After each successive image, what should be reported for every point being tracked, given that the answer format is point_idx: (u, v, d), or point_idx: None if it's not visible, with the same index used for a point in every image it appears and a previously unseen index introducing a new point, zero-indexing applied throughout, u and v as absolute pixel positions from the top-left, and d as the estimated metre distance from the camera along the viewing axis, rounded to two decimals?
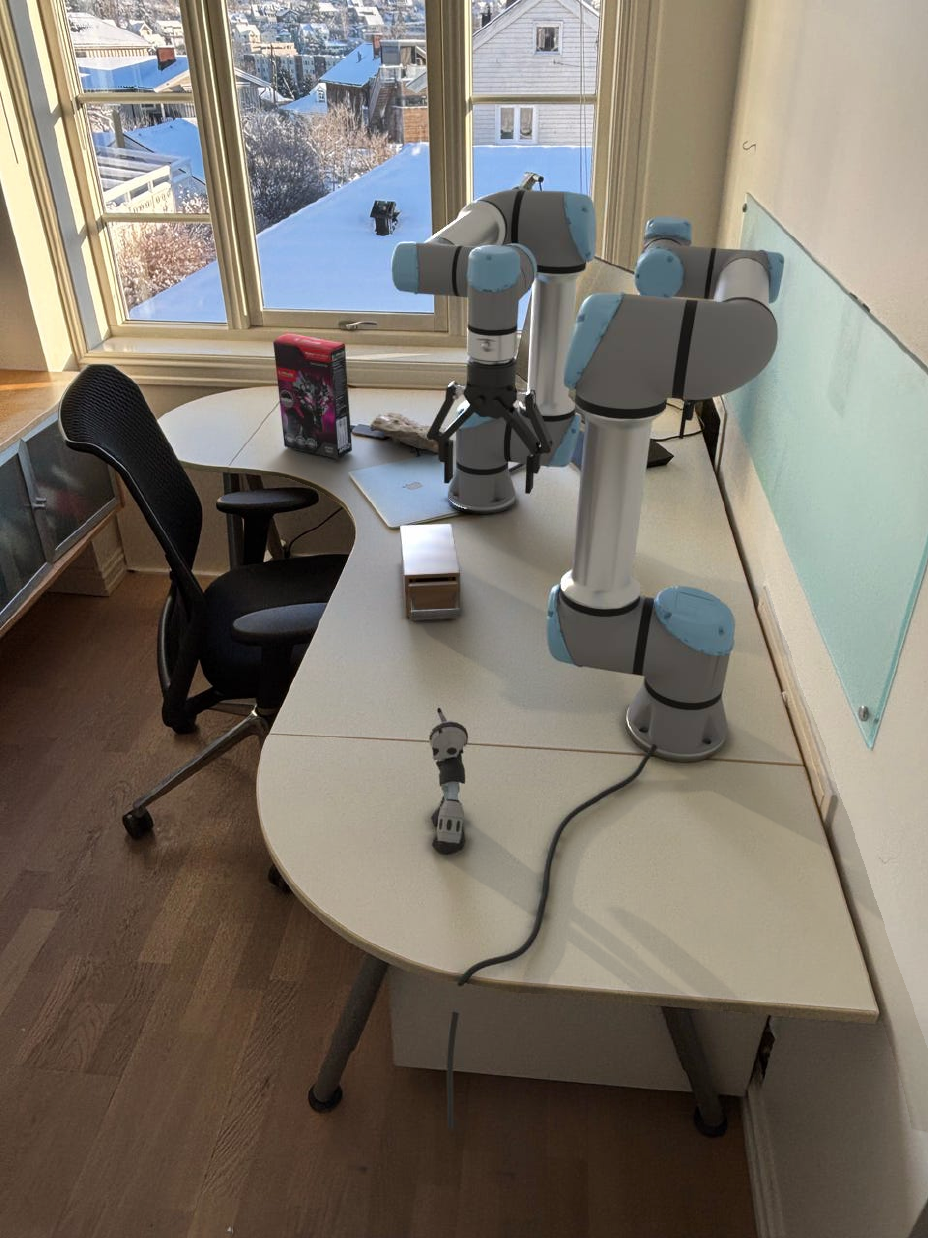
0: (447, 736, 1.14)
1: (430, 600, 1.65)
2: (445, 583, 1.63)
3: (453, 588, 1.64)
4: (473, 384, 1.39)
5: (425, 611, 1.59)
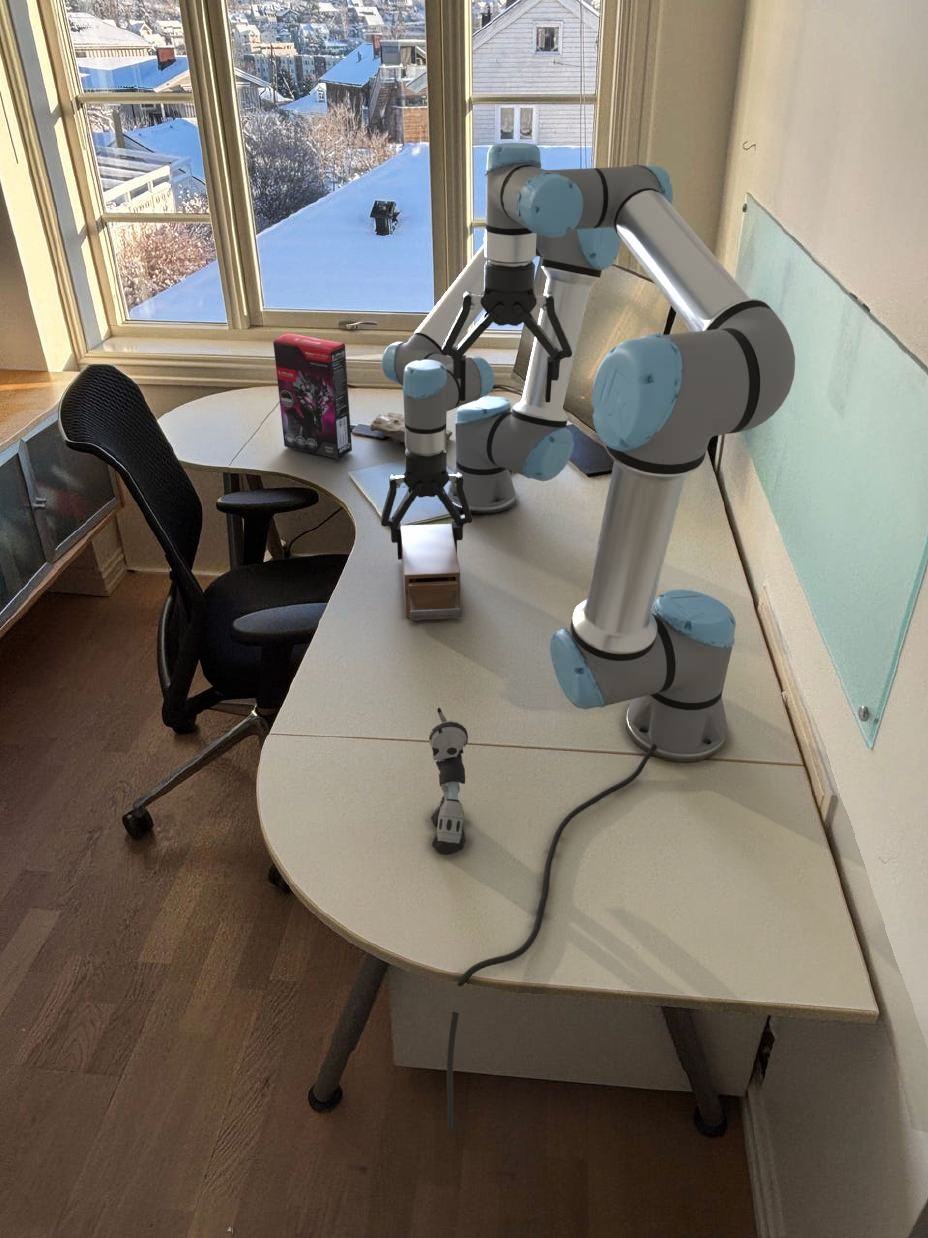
0: (447, 736, 1.14)
1: (430, 600, 1.65)
2: (445, 584, 1.63)
3: (453, 588, 1.64)
4: None
5: (425, 611, 1.59)
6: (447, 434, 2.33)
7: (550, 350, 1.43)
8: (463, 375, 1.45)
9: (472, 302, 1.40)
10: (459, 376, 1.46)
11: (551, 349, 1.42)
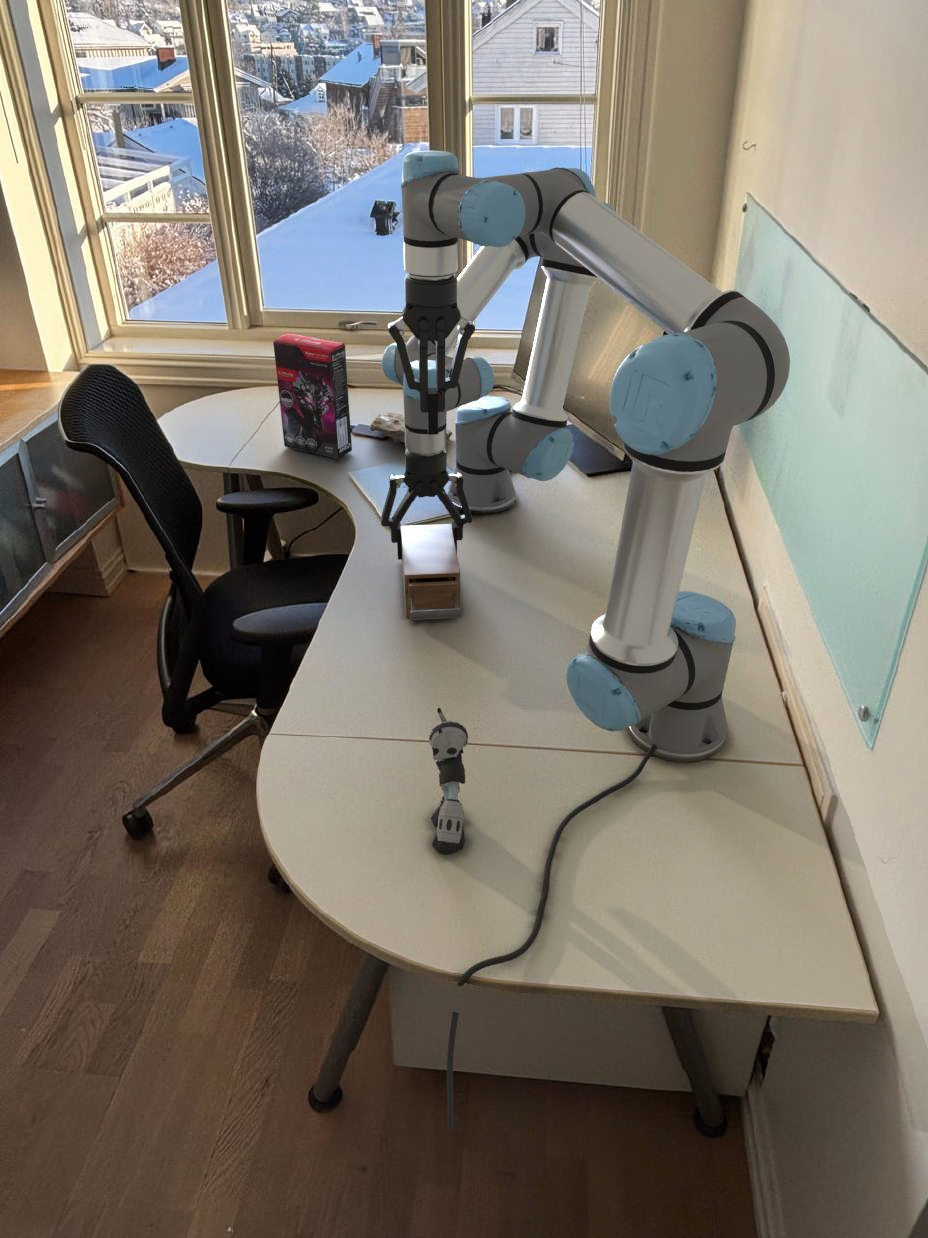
0: (447, 736, 1.14)
1: (430, 600, 1.64)
2: (445, 584, 1.63)
3: (453, 588, 1.64)
4: None
5: (425, 611, 1.59)
6: (447, 434, 2.33)
7: (440, 379, 1.38)
8: (431, 408, 1.40)
9: (399, 328, 1.34)
10: (426, 410, 1.41)
11: (442, 379, 1.38)
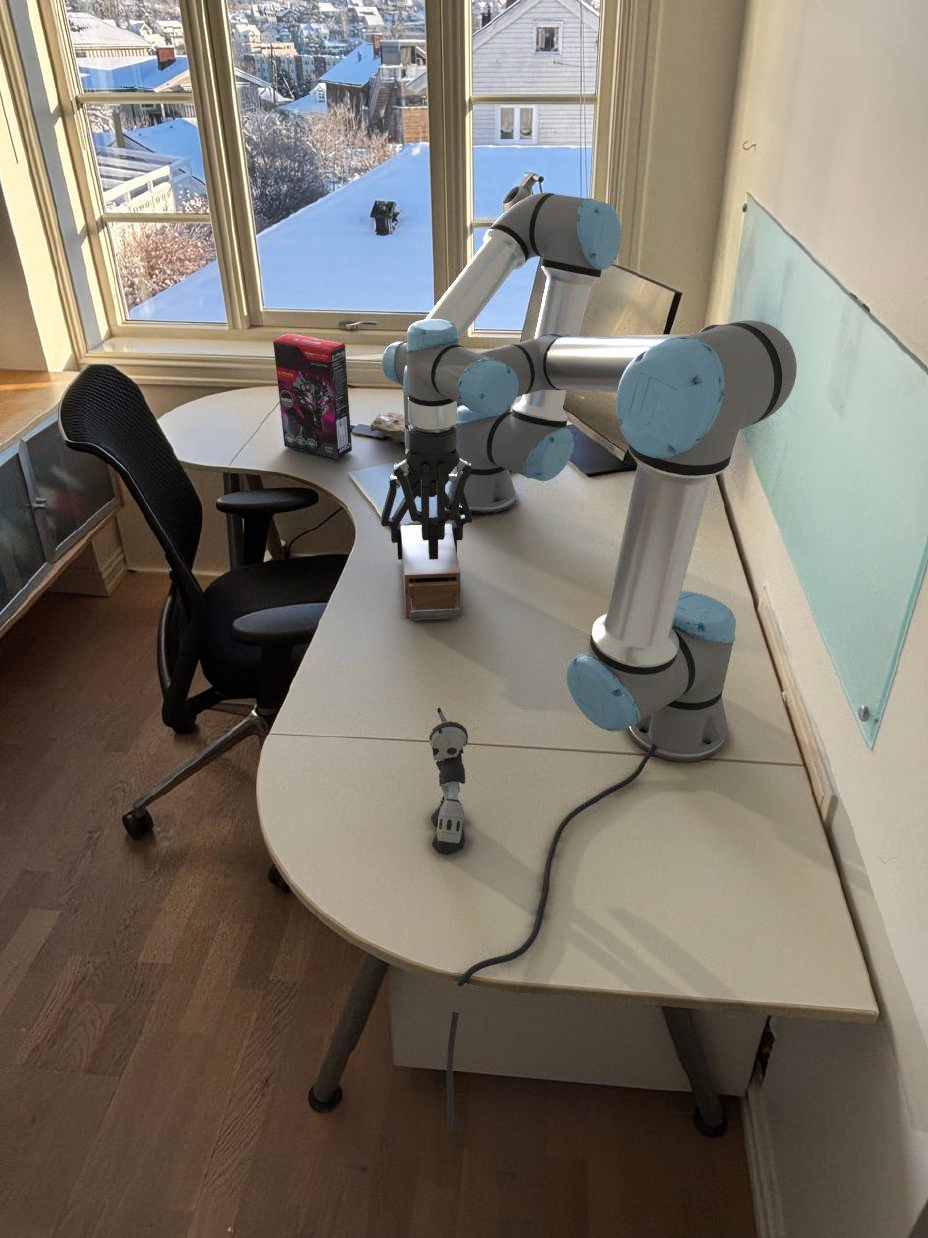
0: (447, 736, 1.14)
1: (430, 600, 1.64)
2: (445, 584, 1.63)
3: (453, 588, 1.64)
4: None
5: (425, 611, 1.59)
6: None
7: (441, 512, 1.50)
8: (432, 537, 1.53)
9: (403, 470, 1.46)
10: (427, 538, 1.53)
11: (442, 512, 1.50)
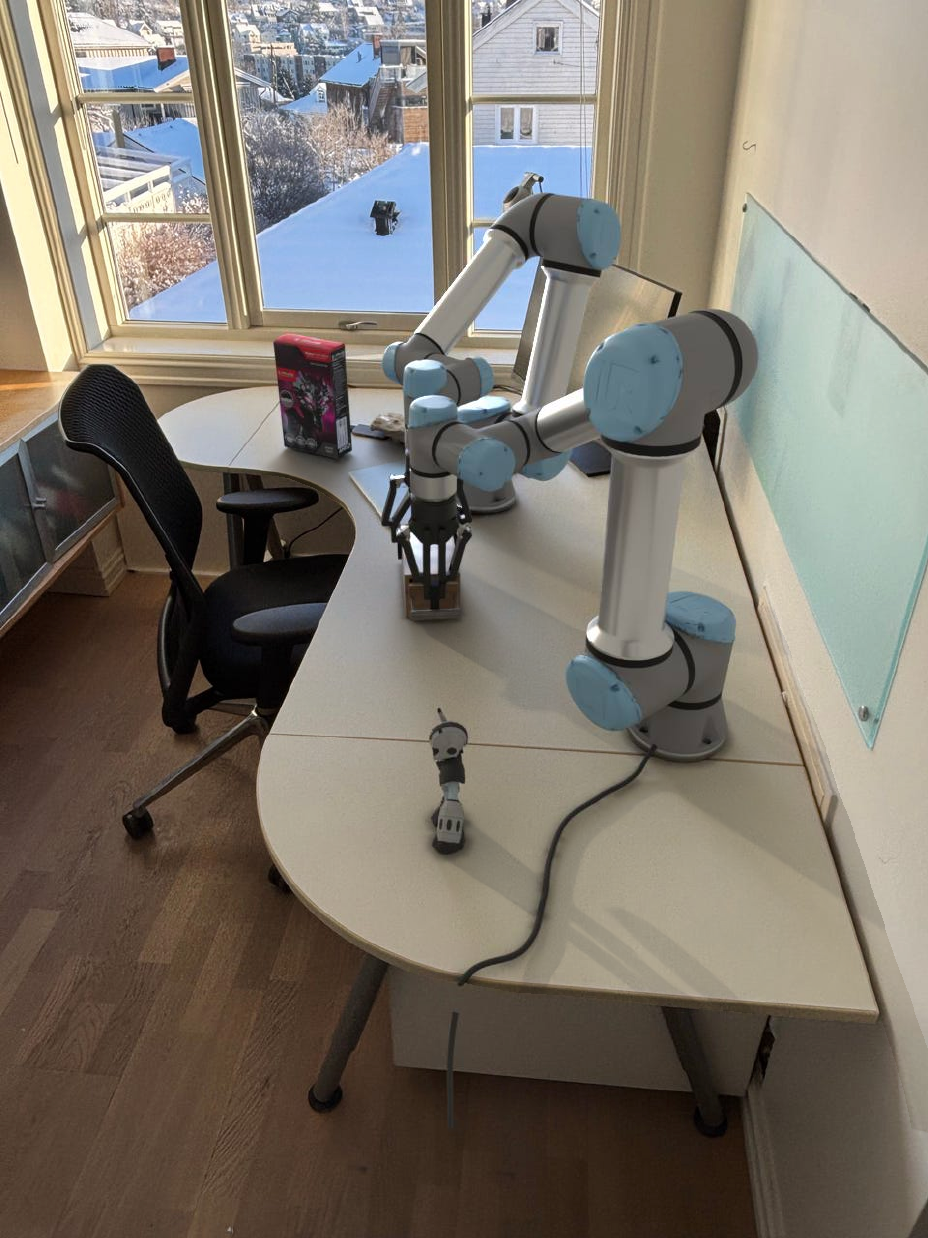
0: (447, 736, 1.14)
1: None
2: None
3: (453, 588, 1.64)
4: None
5: (425, 611, 1.59)
6: None
7: (442, 574, 1.57)
8: (433, 597, 1.59)
9: (405, 535, 1.53)
10: (429, 598, 1.60)
11: (443, 574, 1.57)
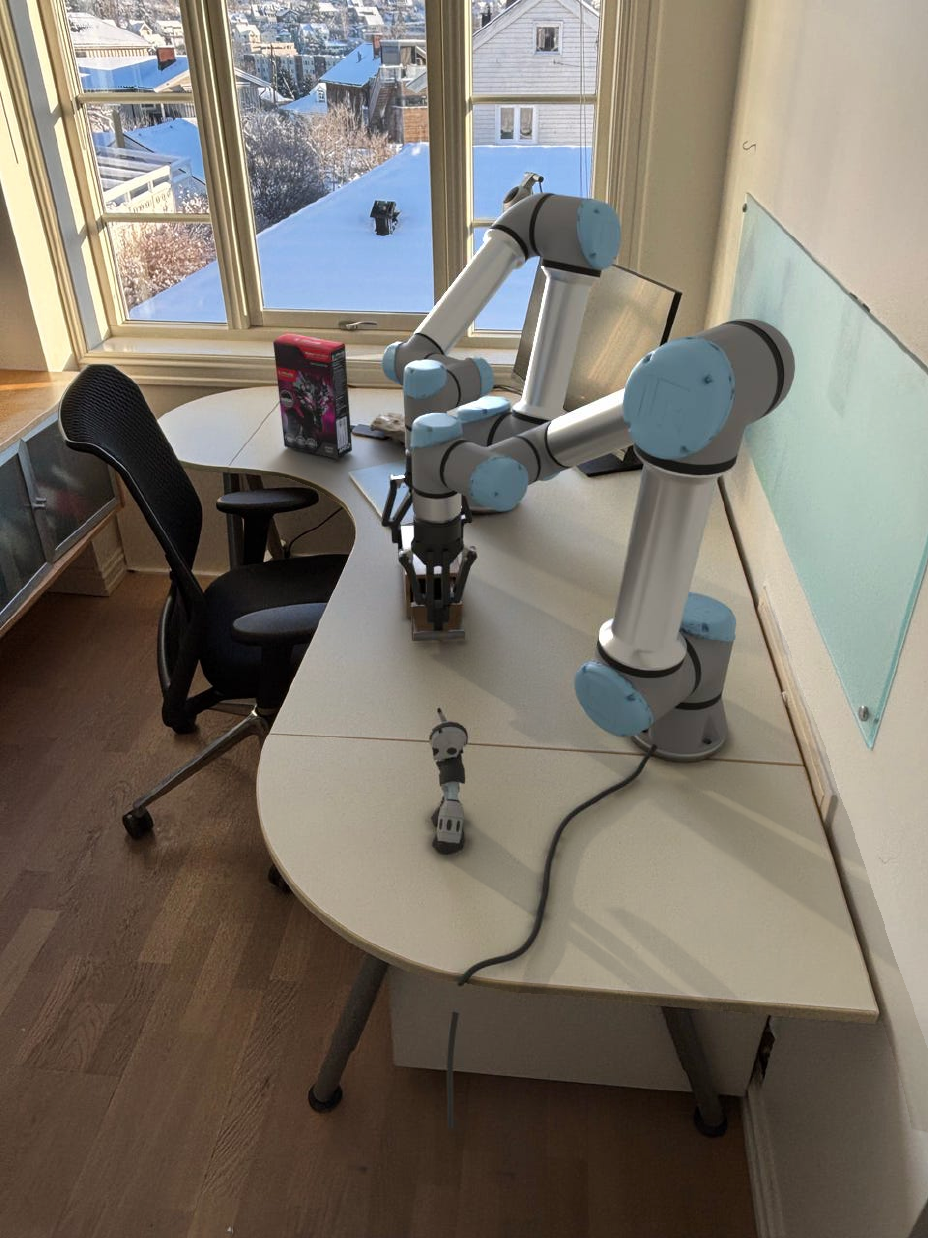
0: (447, 736, 1.14)
1: None
2: None
3: (457, 608, 1.58)
4: None
5: (428, 632, 1.53)
6: None
7: (445, 596, 1.51)
8: (436, 620, 1.53)
9: (408, 557, 1.47)
10: (432, 620, 1.54)
11: (447, 596, 1.51)
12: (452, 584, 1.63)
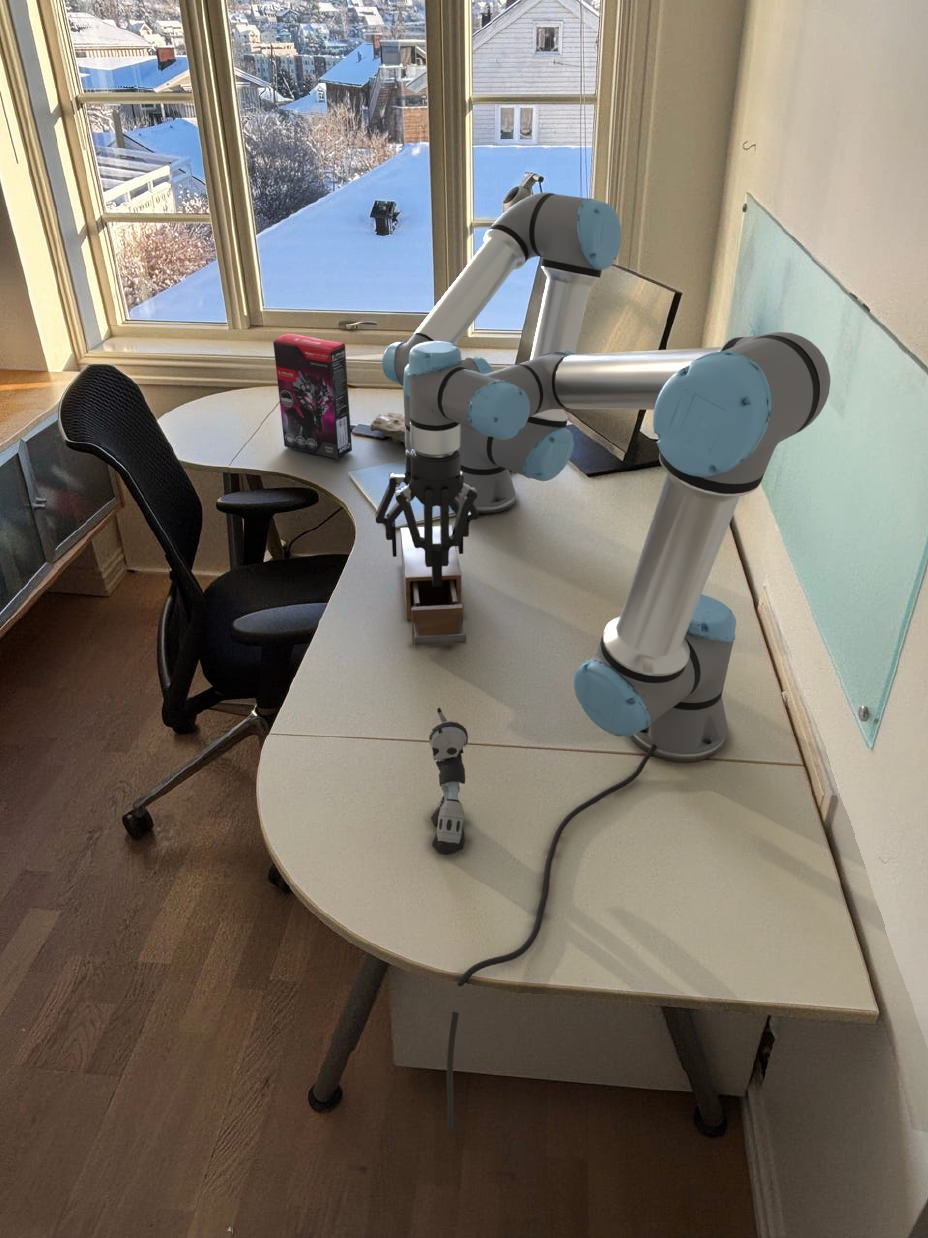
0: (447, 736, 1.14)
1: (434, 625, 1.58)
2: (450, 607, 1.57)
3: (458, 612, 1.57)
4: None
5: (429, 637, 1.53)
6: None
7: (444, 539, 1.46)
8: (435, 564, 1.48)
9: (405, 496, 1.42)
10: (431, 565, 1.49)
11: (446, 539, 1.46)
12: (453, 588, 1.62)
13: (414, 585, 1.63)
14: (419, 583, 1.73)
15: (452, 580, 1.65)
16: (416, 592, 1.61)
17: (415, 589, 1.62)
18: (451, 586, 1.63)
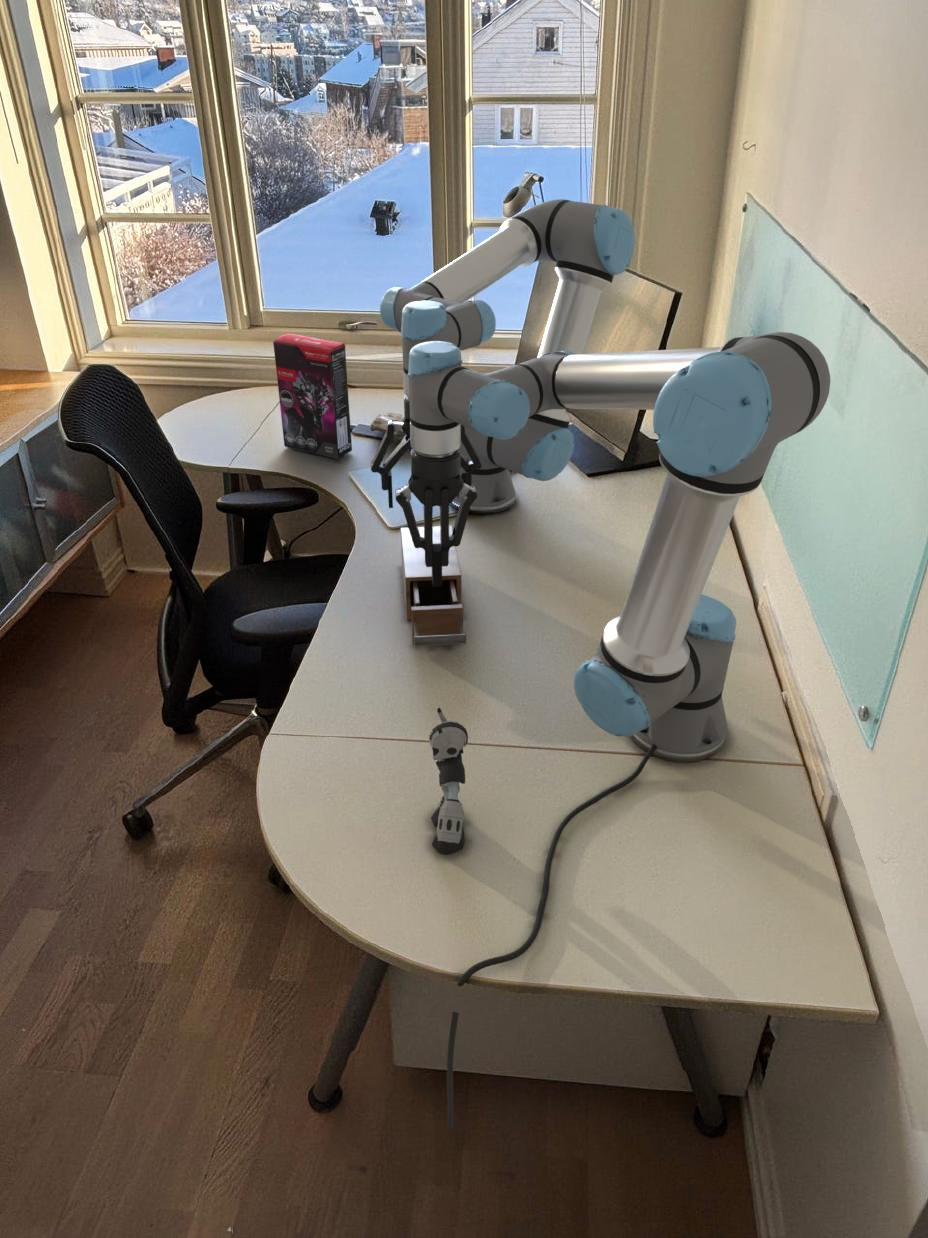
0: (447, 736, 1.14)
1: (434, 625, 1.58)
2: (450, 607, 1.57)
3: (458, 612, 1.57)
4: None
5: (429, 637, 1.53)
6: None
7: (444, 539, 1.46)
8: (435, 564, 1.48)
9: (405, 496, 1.42)
10: (431, 565, 1.49)
11: (446, 539, 1.46)
12: (453, 588, 1.62)
13: (414, 585, 1.63)
14: (419, 583, 1.73)
15: (452, 580, 1.65)
16: (416, 592, 1.61)
17: (415, 589, 1.62)
18: (451, 586, 1.63)
